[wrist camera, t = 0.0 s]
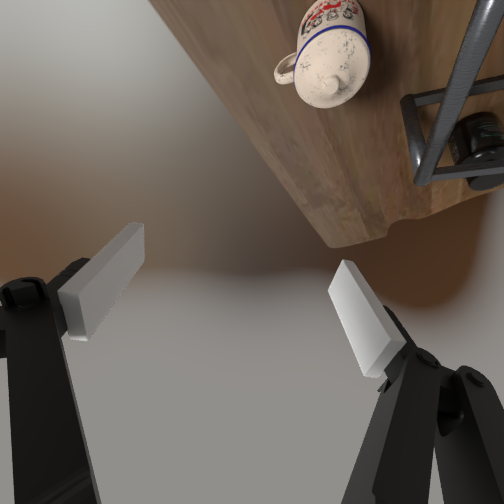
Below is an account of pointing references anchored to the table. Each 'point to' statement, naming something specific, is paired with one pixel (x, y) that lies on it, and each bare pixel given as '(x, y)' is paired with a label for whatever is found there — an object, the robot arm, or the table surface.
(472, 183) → the supplement bottle
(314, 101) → the teacup with lid
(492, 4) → the box
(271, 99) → the table surface
